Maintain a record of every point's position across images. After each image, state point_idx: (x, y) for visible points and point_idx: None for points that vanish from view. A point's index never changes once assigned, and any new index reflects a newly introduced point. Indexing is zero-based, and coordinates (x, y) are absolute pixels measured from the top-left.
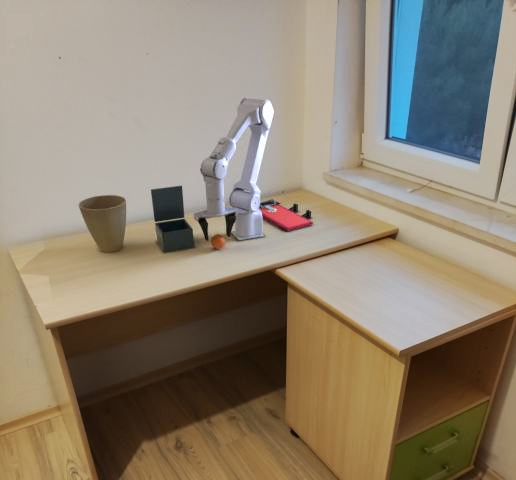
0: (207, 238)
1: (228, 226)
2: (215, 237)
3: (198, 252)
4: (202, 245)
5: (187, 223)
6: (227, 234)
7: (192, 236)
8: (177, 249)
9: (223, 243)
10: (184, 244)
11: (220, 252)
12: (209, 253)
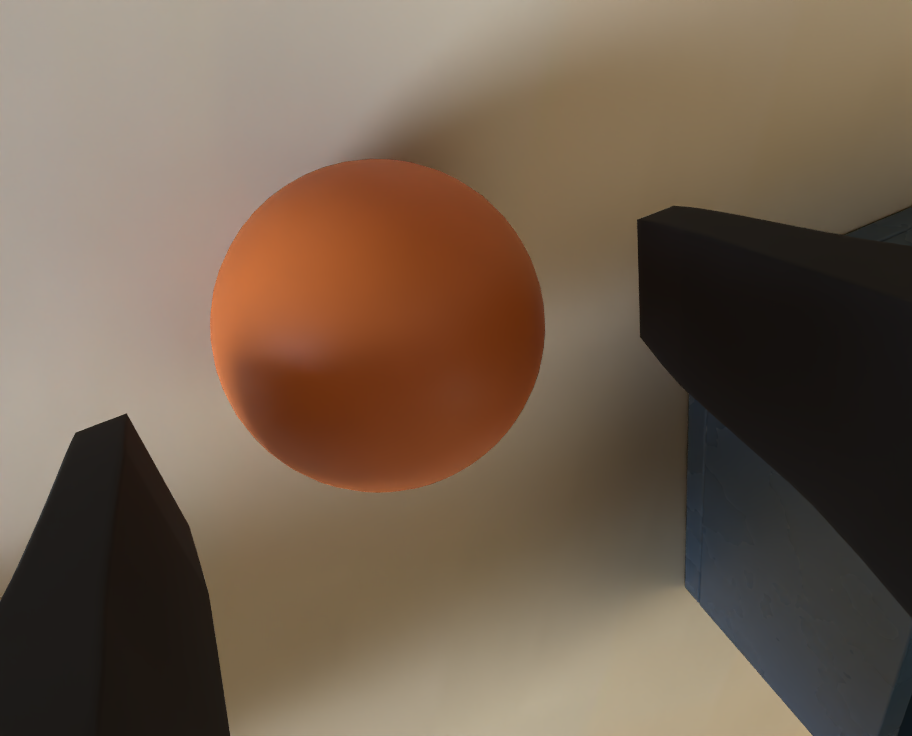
0: (700, 219)
1: (146, 685)
2: (495, 311)
3: (685, 105)
4: (569, 373)
5: (909, 668)
6: (164, 503)
7: None
8: (906, 218)
9: (254, 228)
10: None
11: (300, 41)
12: (524, 25)
